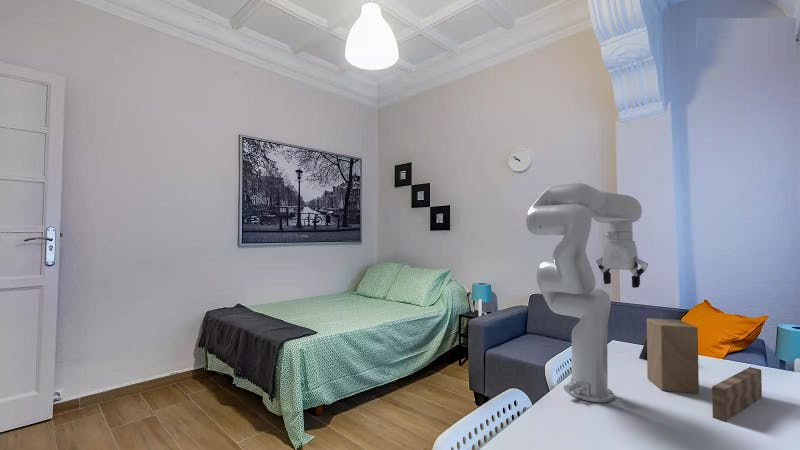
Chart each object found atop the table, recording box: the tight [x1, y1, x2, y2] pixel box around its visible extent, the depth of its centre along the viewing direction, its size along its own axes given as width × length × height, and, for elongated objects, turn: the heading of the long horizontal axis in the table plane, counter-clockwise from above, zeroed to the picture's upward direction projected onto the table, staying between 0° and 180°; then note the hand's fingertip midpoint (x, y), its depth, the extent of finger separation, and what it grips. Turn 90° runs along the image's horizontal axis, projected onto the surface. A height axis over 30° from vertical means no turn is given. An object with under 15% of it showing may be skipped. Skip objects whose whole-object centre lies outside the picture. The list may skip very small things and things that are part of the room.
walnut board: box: [711, 366, 763, 422], centre depth 101 cm, size 28×2×8 cm, turn 121°
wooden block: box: [646, 317, 700, 394], centre depth 114 cm, size 10×10×20 cm
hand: (621, 285), depth 128 cm, fingers open, 9 cm apart
